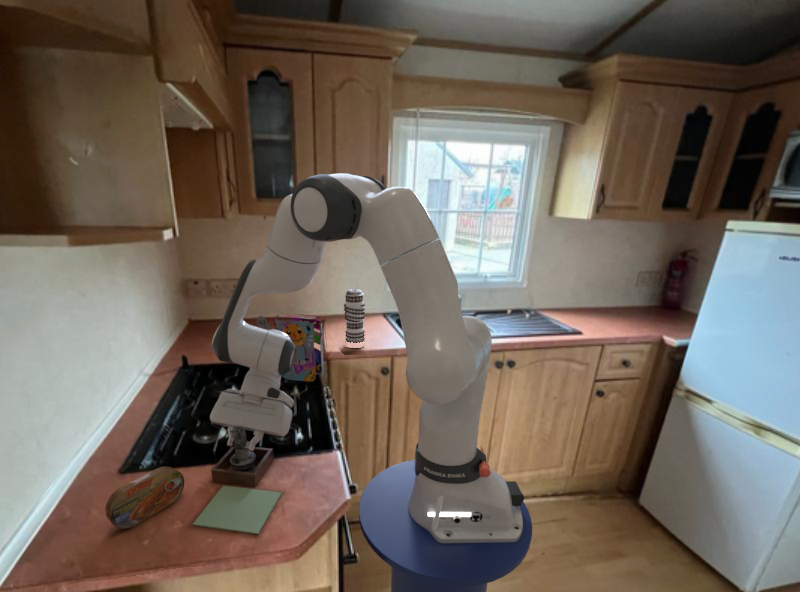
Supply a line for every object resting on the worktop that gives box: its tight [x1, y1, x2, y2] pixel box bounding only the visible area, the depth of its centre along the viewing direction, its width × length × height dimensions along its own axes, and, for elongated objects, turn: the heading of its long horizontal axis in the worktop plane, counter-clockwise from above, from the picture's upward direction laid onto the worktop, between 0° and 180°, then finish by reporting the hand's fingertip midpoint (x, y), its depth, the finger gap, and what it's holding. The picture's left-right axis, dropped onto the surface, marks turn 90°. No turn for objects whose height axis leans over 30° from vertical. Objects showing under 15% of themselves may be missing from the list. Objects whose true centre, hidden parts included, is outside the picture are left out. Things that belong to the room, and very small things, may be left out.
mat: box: [192, 485, 282, 535], centre depth 86 cm, size 14×12×1 cm
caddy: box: [210, 446, 275, 488], centre depth 98 cm, size 11×11×3 cm
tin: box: [104, 466, 185, 530], centre depth 84 cm, size 15×3×8 cm, turn 143°
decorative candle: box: [343, 288, 366, 343], centre depth 178 cm, size 9×9×25 cm
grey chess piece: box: [230, 427, 257, 473], centre depth 97 cm, size 6×6×12 cm
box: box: [256, 312, 330, 389], centre depth 143 cm, size 25×6×24 cm, turn 73°
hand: (239, 448), depth 96 cm, fingers closed on grey chess piece, 3 cm apart
